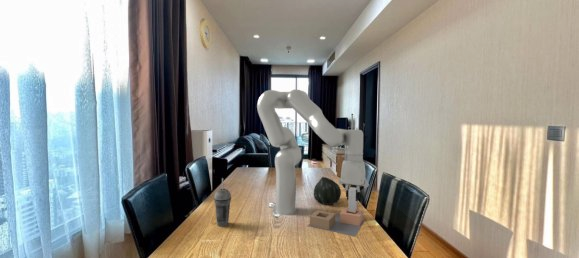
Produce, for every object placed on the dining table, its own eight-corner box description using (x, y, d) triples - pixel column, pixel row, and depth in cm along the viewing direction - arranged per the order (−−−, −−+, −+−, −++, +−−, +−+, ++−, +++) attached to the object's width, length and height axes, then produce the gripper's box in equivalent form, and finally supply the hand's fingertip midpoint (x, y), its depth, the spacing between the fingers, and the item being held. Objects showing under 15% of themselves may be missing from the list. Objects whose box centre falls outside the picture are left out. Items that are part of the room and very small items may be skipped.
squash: (349, 192, 148) (333, 170, 152) (338, 201, 135) (321, 176, 140) (331, 205, 154) (316, 183, 159) (319, 214, 142) (303, 190, 146)
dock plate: (307, 229, 112) (307, 216, 112) (323, 214, 130) (323, 202, 130) (355, 240, 103) (355, 226, 103) (365, 222, 121) (365, 210, 121)
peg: (348, 211, 118) (348, 188, 117) (349, 209, 121) (350, 187, 120) (355, 212, 116) (355, 189, 116) (357, 210, 119) (357, 188, 119)
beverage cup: (213, 228, 112) (213, 181, 111) (213, 221, 119) (213, 177, 118) (231, 227, 114) (231, 180, 113) (230, 220, 121) (230, 176, 120)
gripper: (332, 157, 118) (332, 199, 119) (371, 160, 110) (370, 205, 111) (337, 155, 124) (337, 194, 125) (374, 158, 117) (373, 200, 118)
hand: (352, 199), depth 118 cm, fingers closed on peg, 3 cm apart
